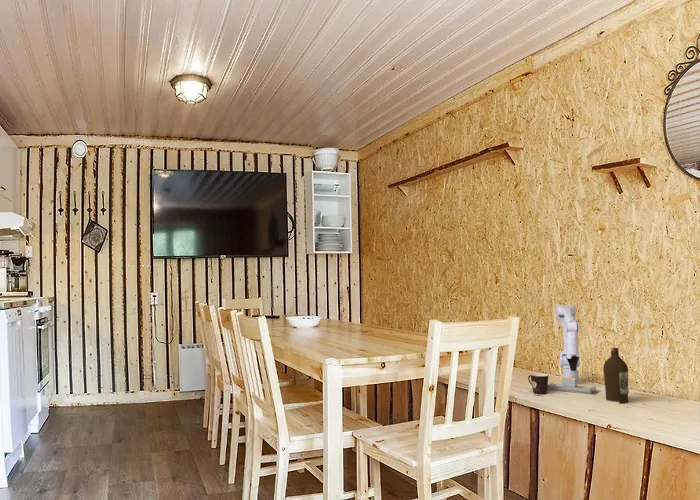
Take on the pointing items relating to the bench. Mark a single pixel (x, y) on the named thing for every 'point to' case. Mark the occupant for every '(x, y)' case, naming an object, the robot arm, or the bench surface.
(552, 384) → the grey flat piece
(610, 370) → the olive oil
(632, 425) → the bench surface
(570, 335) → the robot arm
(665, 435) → the bench surface
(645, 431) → the bench surface
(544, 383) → the coffee mug
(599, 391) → the board
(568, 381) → the block
